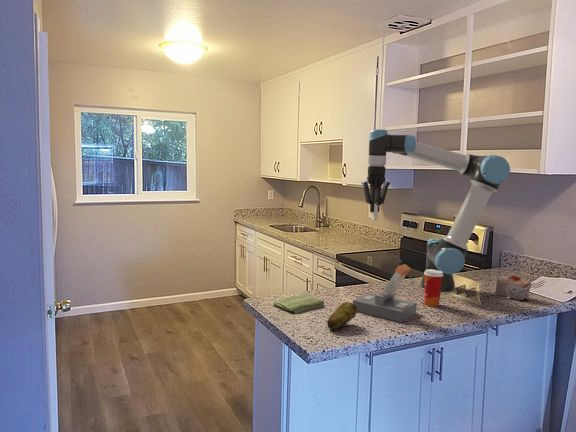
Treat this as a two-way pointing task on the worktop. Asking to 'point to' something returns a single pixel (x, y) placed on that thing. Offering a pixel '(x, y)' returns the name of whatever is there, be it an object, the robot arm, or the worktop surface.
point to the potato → (342, 315)
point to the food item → (513, 287)
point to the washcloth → (299, 303)
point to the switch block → (385, 307)
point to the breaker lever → (395, 281)
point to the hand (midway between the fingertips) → (374, 219)
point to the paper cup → (432, 287)
